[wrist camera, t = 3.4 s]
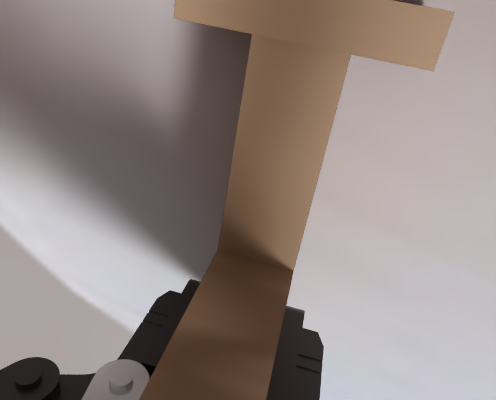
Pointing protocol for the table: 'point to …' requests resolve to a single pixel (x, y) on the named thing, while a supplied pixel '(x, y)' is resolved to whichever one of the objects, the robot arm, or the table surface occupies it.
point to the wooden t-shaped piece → (276, 175)
